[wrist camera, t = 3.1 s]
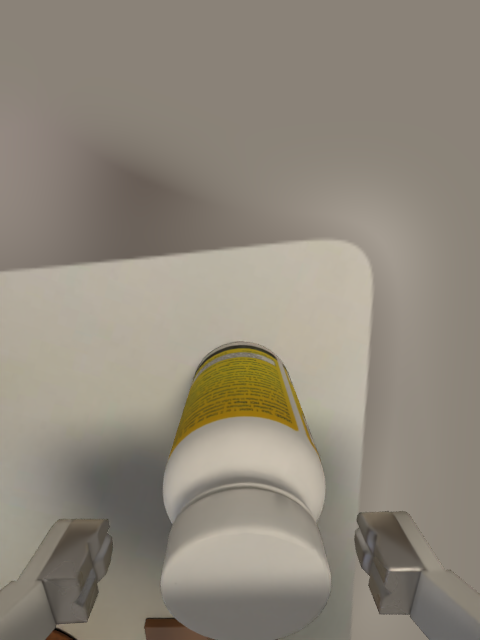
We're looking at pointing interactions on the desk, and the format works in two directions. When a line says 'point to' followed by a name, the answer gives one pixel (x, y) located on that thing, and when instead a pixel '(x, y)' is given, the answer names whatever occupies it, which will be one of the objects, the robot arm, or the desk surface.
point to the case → (57, 636)
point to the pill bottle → (244, 503)
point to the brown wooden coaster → (170, 630)
